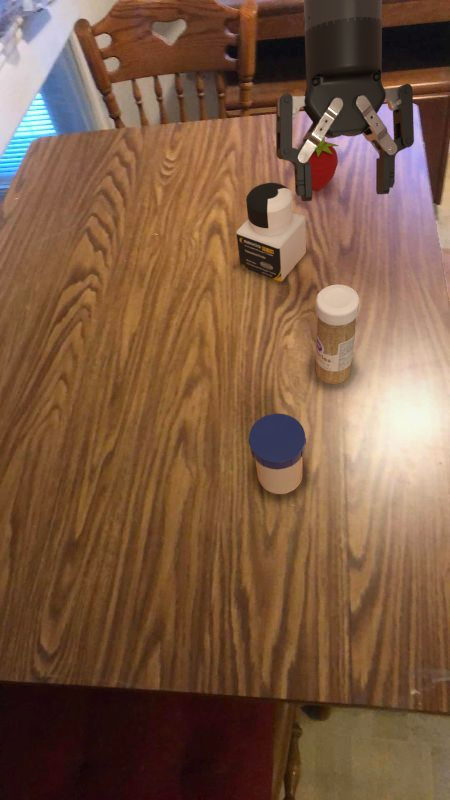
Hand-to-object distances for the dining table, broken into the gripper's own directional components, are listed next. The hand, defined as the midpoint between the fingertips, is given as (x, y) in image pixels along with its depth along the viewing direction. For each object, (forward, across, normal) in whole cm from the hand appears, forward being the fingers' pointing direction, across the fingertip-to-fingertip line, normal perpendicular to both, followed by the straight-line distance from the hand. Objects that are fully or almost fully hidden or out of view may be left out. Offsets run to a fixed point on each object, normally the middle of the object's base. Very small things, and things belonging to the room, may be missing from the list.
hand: (345, 197), depth 62 cm
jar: (+29, -10, -8) cm, 32 cm away
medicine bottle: (+9, -4, +20) cm, 23 cm away
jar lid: (+22, -11, -12) cm, 28 cm away
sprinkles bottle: (+21, -1, +2) cm, 21 cm away
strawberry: (0, +6, +32) cm, 32 cm away
